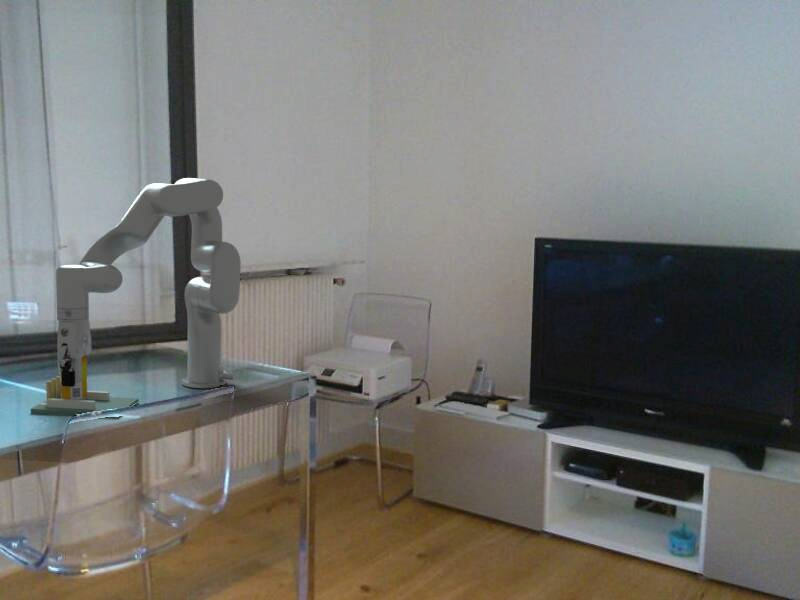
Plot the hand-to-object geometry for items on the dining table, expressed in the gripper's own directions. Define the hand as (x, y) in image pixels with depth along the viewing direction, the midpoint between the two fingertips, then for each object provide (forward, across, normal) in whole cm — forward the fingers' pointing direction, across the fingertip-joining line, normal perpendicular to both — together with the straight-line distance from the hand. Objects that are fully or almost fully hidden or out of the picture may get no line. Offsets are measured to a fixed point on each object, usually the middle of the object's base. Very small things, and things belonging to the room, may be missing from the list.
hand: (74, 382), depth 202 cm
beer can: (+5, 0, 0) cm, 5 cm away
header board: (+7, 0, -3) cm, 7 cm away
